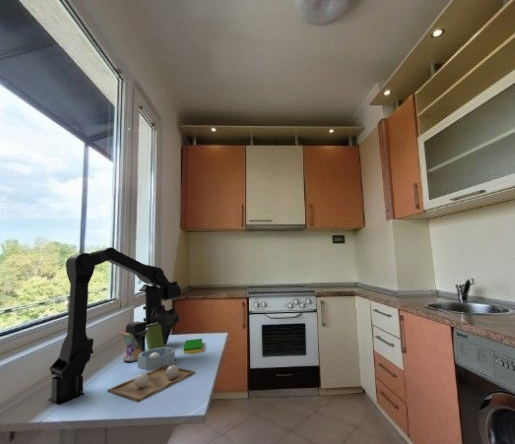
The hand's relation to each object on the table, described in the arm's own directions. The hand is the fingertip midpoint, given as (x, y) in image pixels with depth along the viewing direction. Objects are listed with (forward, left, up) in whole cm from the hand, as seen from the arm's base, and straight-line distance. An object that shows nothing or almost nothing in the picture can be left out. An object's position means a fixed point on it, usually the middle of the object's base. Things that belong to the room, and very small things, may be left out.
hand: (154, 347), depth 101 cm
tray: (-11, -13, -6) cm, 18 cm away
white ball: (0, 0, -5) cm, 5 cm away
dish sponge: (+20, +1, -6) cm, 21 cm away
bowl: (+1, 0, -6) cm, 6 cm away
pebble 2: (-7, -17, -5) cm, 19 cm away
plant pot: (+14, +18, -6) cm, 23 cm away
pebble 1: (-15, -13, -5) cm, 21 cm away
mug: (+2, +15, -6) cm, 16 cm away
